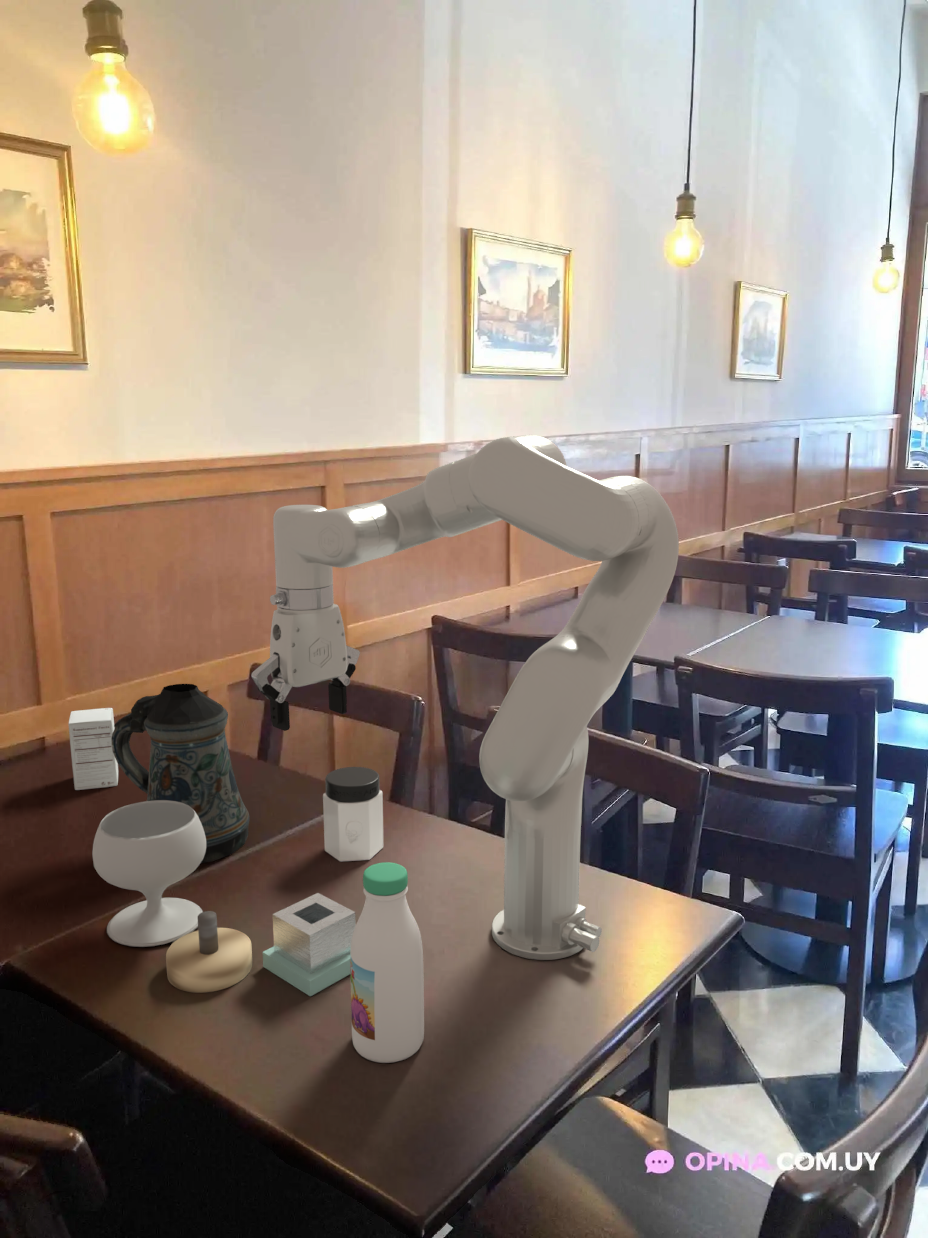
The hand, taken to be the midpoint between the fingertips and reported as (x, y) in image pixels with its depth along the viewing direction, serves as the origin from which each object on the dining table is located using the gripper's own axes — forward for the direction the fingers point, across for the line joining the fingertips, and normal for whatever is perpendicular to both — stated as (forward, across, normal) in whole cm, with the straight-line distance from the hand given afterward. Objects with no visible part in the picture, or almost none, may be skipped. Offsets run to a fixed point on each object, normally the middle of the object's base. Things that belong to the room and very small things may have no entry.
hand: (310, 719), depth 133 cm
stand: (+24, -13, -17) cm, 32 cm away
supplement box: (+24, -5, +58) cm, 63 cm away
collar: (+22, -13, -17) cm, 31 cm away
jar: (+24, +10, +4) cm, 27 cm away
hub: (+24, -22, -8) cm, 34 cm away
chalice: (+24, -22, +6) cm, 33 cm away
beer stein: (+24, -7, +24) cm, 35 cm away
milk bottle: (+25, -16, -34) cm, 45 cm away
